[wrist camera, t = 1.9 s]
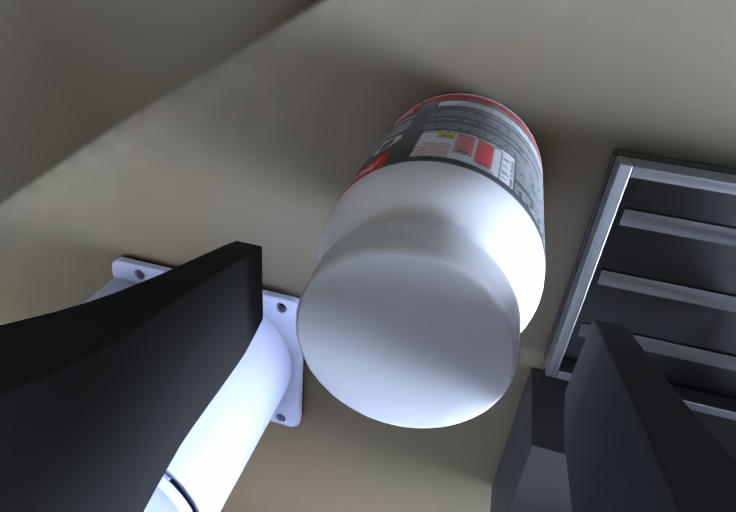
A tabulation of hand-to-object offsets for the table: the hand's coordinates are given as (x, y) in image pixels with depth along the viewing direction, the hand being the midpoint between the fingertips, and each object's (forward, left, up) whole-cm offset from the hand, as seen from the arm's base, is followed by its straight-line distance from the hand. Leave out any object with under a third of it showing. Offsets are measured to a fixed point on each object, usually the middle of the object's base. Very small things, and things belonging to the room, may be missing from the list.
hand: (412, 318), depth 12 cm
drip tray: (+10, -3, -9) cm, 14 cm away
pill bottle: (0, 0, -9) cm, 9 cm away
